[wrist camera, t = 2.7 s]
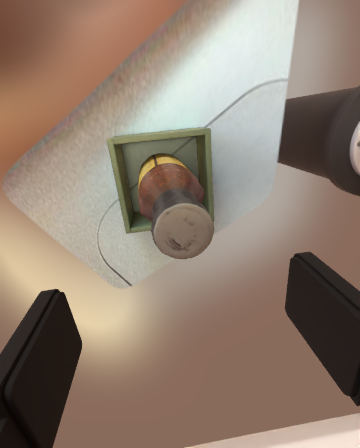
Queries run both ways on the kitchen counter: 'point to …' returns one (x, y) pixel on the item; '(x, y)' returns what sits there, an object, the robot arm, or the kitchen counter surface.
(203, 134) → the caddy
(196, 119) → the kitchen counter surface
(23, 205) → the kitchen counter surface
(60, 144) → the kitchen counter surface
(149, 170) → the sauce bottle
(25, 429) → the robot arm
